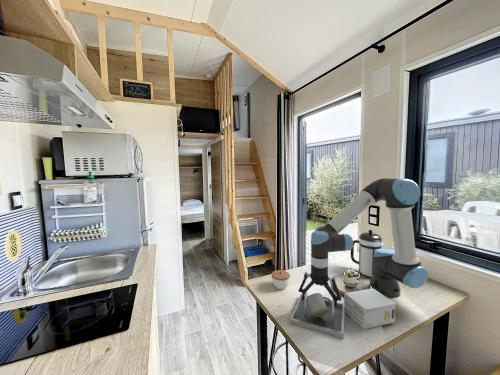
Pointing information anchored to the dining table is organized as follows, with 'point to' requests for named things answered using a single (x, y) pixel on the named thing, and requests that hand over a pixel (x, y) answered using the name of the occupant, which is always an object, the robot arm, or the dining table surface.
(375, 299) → the supplement box
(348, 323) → the dining table surface
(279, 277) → the lidded jar
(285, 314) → the dining table surface
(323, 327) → the square tray
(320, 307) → the ceramic mug
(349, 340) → the dining table surface
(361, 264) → the coffee press
